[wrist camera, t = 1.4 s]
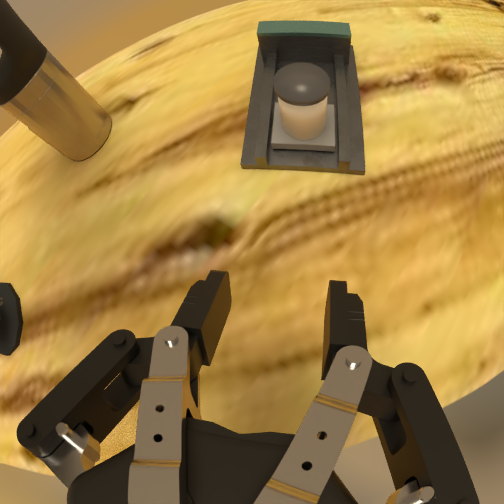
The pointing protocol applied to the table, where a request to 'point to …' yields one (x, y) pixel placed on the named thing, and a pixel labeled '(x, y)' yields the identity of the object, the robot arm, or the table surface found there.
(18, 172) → the table surface
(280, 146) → the knob carriage
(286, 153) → the knob mount
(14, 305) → the gun turret
